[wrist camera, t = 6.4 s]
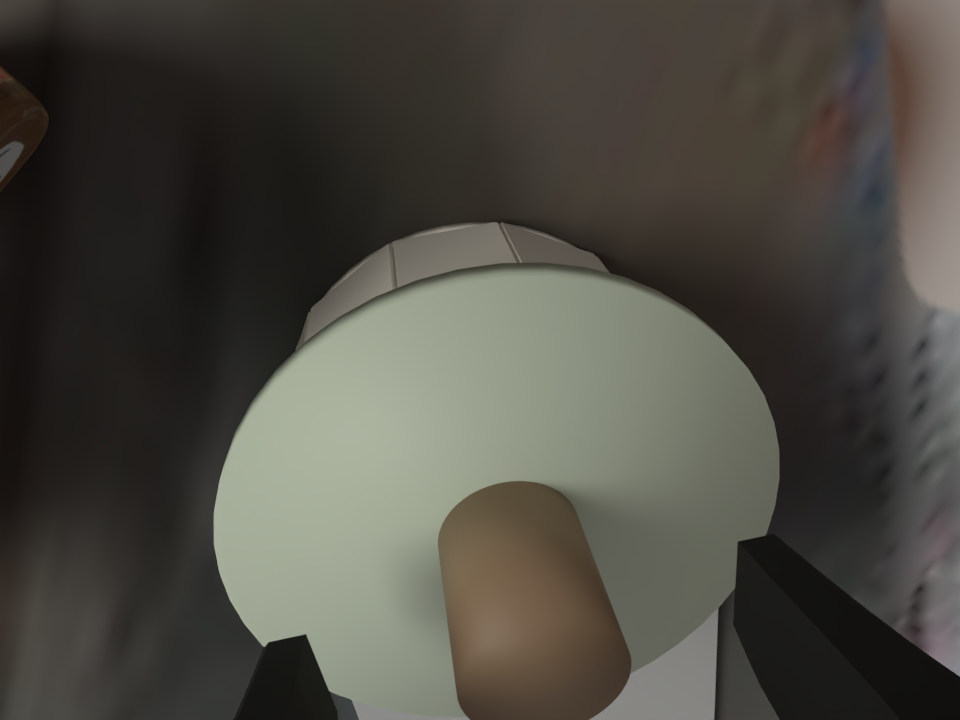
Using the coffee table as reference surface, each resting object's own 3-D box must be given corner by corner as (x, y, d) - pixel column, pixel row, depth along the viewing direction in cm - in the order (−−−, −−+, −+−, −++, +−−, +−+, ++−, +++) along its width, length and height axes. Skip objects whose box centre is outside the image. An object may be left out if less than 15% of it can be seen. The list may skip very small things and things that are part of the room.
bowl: (647, 489, 21) (713, 612, 17) (340, 553, 20) (335, 694, 17) (637, 187, 16) (724, 260, 12) (241, 261, 16) (202, 362, 12)
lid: (754, 634, 18) (843, 790, 14) (309, 736, 17) (297, 922, 14) (780, 204, 12) (936, 299, 9) (121, 336, 12) (26, 489, 8)
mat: (708, 740, 27) (712, 750, 27) (398, 811, 27) (398, 822, 26) (715, 504, 21) (721, 513, 21) (314, 589, 21) (313, 600, 20)
